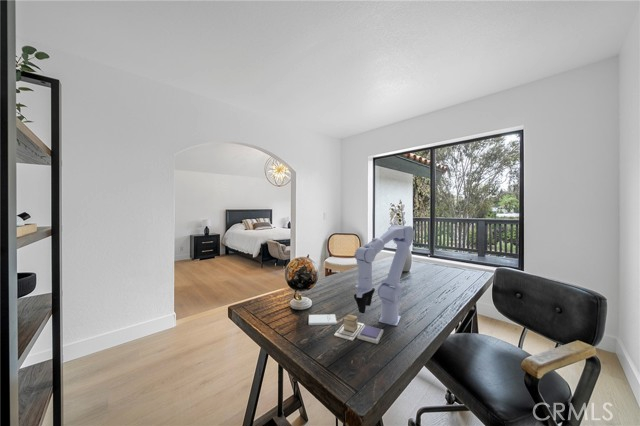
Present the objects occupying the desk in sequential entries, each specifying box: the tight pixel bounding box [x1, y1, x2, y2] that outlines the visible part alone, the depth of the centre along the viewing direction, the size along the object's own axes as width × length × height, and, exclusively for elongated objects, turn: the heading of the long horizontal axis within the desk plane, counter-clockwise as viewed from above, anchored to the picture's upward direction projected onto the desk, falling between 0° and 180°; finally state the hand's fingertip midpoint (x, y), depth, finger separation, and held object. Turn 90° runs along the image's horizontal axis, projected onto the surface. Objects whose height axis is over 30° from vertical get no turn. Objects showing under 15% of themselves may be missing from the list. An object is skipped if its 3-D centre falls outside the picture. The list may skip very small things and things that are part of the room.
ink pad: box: [356, 324, 384, 345], centre depth 95 cm, size 9×8×2 cm
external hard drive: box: [308, 313, 338, 326], centre depth 108 cm, size 2×8×12 cm
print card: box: [333, 322, 365, 342], centre depth 99 cm, size 14×8×1 cm, turn 151°
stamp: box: [343, 314, 359, 333], centre depth 99 cm, size 4×4×5 cm
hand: (364, 308), depth 98 cm, fingers open, 7 cm apart
